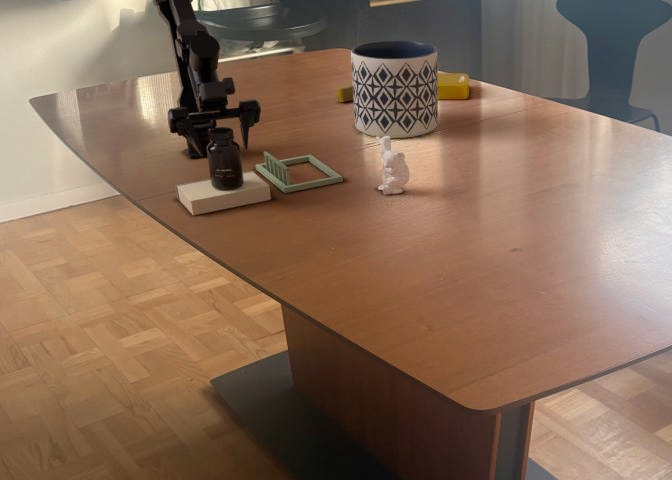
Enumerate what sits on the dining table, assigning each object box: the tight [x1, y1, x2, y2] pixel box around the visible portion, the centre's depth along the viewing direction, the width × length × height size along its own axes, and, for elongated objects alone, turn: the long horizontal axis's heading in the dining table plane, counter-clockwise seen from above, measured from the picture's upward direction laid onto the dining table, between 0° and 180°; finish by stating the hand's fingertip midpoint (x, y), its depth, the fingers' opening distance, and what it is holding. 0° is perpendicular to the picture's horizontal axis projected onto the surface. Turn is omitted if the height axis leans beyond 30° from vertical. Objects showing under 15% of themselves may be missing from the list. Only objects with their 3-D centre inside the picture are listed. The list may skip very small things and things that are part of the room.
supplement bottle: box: [206, 126, 244, 190], centre depth 175 cm, size 7×7×12 cm
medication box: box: [336, 84, 354, 103], centre depth 248 cm, size 12×3×4 cm, turn 134°
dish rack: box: [255, 150, 344, 194], centre depth 191 cm, size 18×14×5 cm
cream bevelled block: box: [174, 170, 272, 216], centre depth 179 cm, size 11×17×3 cm, turn 122°
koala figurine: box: [375, 136, 411, 195], centre depth 181 cm, size 8×7×12 cm
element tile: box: [438, 72, 470, 101], centre depth 254 cm, size 15×15×5 cm
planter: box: [350, 39, 439, 139], centre depth 220 cm, size 22×22×20 cm
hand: (224, 152), depth 173 cm, fingers open, 9 cm apart
